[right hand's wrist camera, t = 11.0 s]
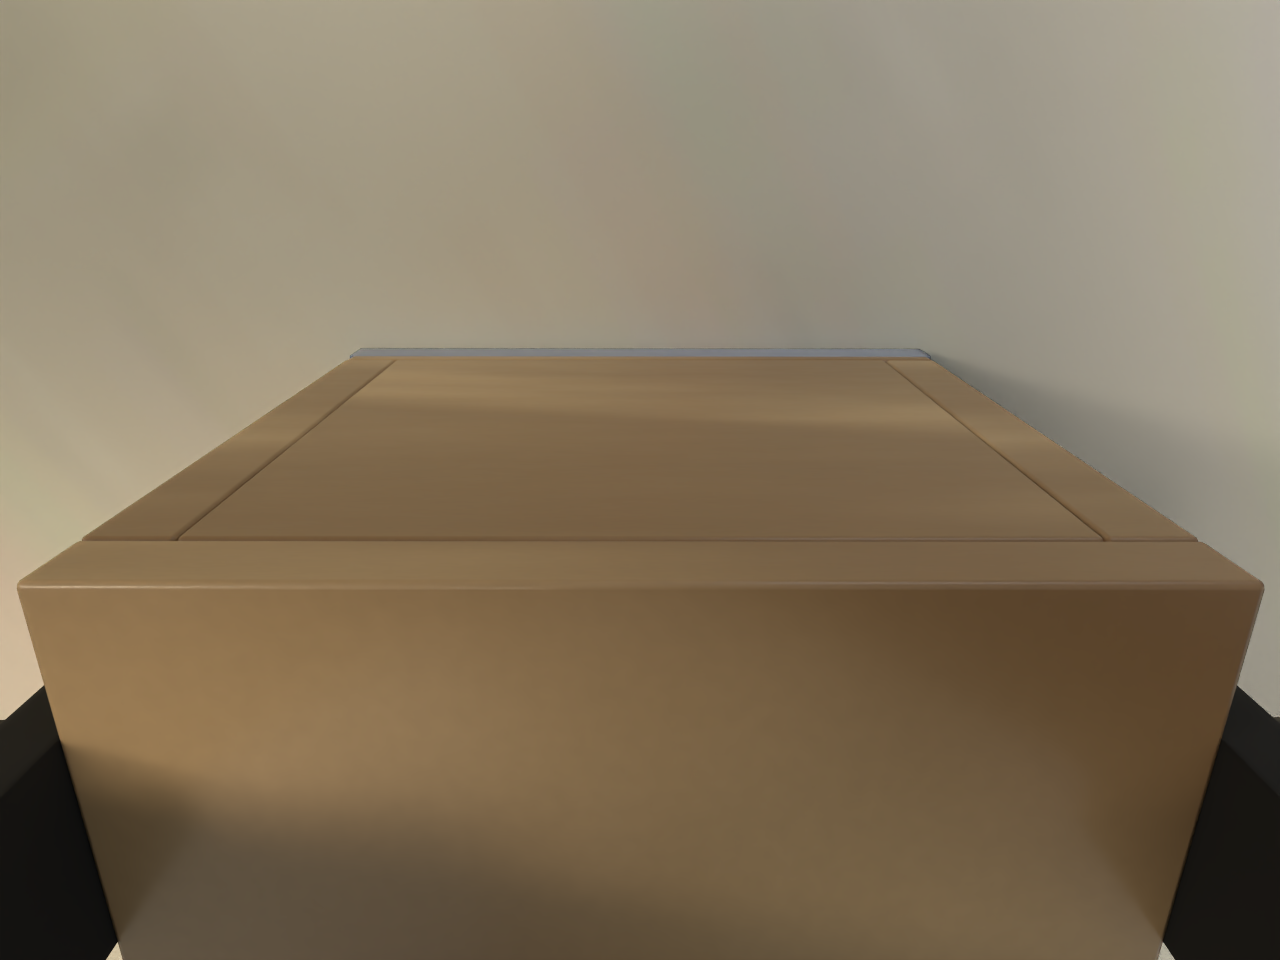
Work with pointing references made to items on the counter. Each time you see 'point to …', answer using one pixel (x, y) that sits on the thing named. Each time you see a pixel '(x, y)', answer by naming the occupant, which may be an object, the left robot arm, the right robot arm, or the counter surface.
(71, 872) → the right robot arm
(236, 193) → the counter surface
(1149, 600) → the cabinet
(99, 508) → the counter surface
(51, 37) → the counter surface
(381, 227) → the counter surface
